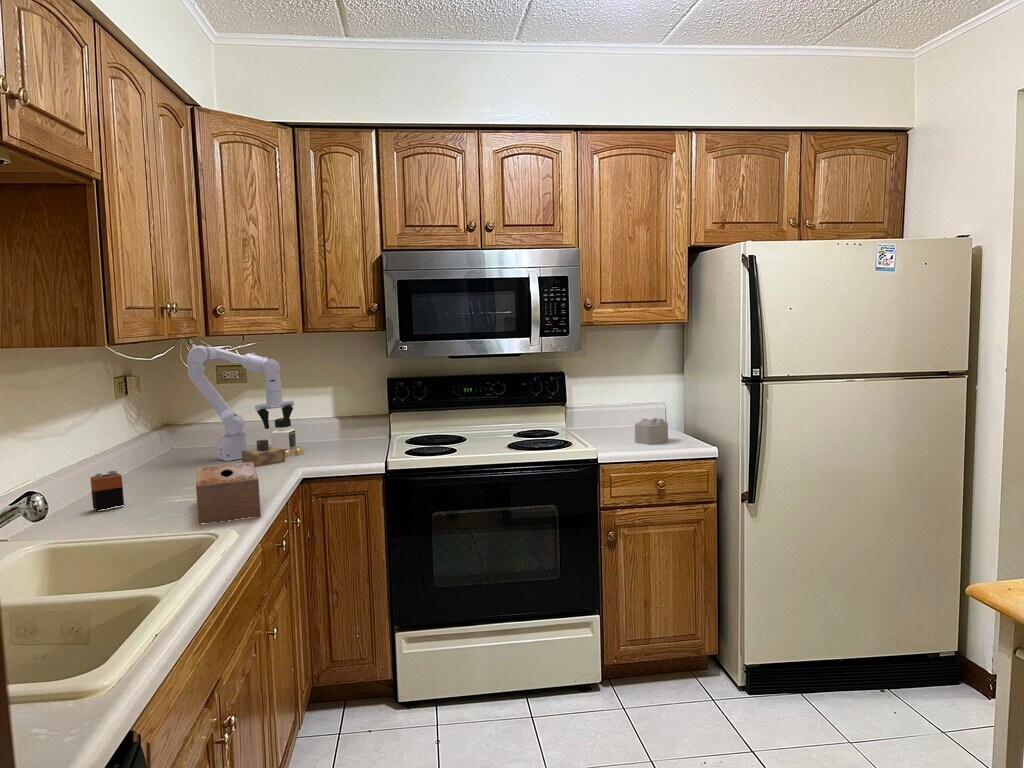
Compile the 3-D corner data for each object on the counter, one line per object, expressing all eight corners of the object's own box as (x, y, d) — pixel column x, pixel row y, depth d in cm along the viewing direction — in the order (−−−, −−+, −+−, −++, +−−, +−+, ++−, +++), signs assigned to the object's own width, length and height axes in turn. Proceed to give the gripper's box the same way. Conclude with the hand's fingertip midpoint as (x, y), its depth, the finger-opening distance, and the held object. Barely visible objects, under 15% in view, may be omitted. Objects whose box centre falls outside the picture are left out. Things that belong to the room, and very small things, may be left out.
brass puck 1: (285, 457, 258) (284, 451, 258) (281, 456, 260) (280, 450, 260) (293, 456, 260) (292, 450, 260) (289, 455, 263) (288, 449, 262)
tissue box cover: (260, 517, 178) (258, 479, 177) (198, 526, 172) (195, 486, 171) (255, 495, 201) (253, 461, 201) (200, 502, 196) (198, 467, 195)
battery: (124, 507, 193) (121, 471, 192) (96, 512, 188) (93, 475, 187) (120, 504, 196) (117, 469, 195) (92, 509, 191) (89, 473, 190)
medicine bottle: (290, 449, 275) (288, 419, 274) (272, 450, 275) (270, 419, 274) (296, 446, 282) (294, 416, 281) (278, 446, 282) (276, 417, 281)
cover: (255, 466, 242) (253, 444, 242) (242, 462, 251) (240, 441, 250) (285, 461, 250) (283, 439, 249) (271, 458, 258) (270, 436, 257)
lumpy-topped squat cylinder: (631, 442, 265) (630, 419, 265) (653, 437, 273) (653, 416, 273) (652, 445, 257) (652, 422, 256) (675, 440, 265) (674, 418, 264)
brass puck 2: (296, 455, 261) (296, 449, 261) (292, 454, 264) (292, 448, 263) (304, 454, 263) (304, 448, 263) (300, 453, 266) (300, 447, 265)
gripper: (259, 394, 255) (262, 430, 256) (296, 389, 265) (299, 425, 266) (251, 393, 260) (254, 429, 261) (288, 389, 270) (291, 423, 271)
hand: (276, 427), depth 264 cm, fingers open, 7 cm apart
